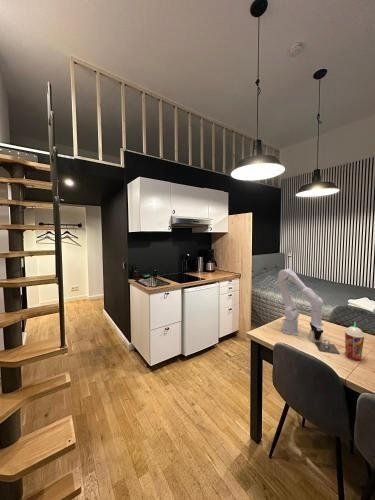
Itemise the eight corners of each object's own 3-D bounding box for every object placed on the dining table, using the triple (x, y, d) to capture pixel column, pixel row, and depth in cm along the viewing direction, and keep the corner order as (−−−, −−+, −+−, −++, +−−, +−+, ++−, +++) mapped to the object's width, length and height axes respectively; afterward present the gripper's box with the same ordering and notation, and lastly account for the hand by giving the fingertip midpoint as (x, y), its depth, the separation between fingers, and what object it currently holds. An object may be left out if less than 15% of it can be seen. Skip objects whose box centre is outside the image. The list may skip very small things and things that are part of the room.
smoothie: (364, 363, 110) (366, 326, 108) (344, 358, 114) (346, 323, 113) (361, 356, 117) (363, 321, 115) (342, 351, 121) (344, 318, 120)
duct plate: (319, 351, 122) (319, 344, 121) (315, 342, 131) (315, 336, 131) (339, 354, 118) (339, 347, 118) (333, 345, 128) (334, 338, 127)
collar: (311, 341, 133) (311, 333, 132) (309, 337, 138) (309, 330, 138) (321, 342, 131) (321, 335, 131) (319, 338, 136) (319, 331, 136)
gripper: (327, 321, 125) (326, 343, 126) (320, 313, 139) (319, 333, 140) (313, 320, 128) (312, 341, 129) (308, 311, 141) (307, 331, 142)
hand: (315, 337), depth 134 cm, fingers open, 7 cm apart
